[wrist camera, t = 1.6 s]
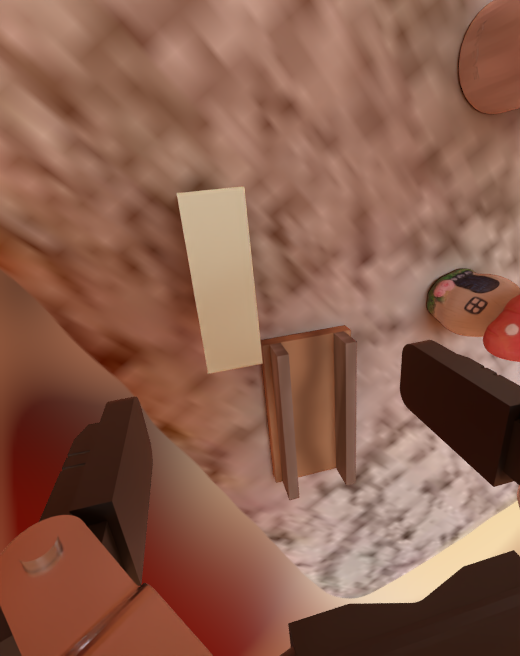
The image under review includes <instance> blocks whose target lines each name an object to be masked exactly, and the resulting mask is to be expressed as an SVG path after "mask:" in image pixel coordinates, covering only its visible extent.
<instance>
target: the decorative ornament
mask: <svg viewBox="0 0 520 656" xmlns="http://www.w3.org/2000/svg"><path fill="white" fill-rule="evenodd" d="M427 309H428V310H429V312H430V313H431V314H432V315H433V316H434V317H435V318H436V319H437V320H438V321H440V322H441V323H442V325H443V326H444V327H445V328H447V329H448V330H450V331H452V332H454V333H456V334H459V335H464V336H475V337H482V336H483V344H484V346H485V348H486V349H487V351H488V352H490V353H491V354H493V355H495V356H496V357H499V358H502V359H506V360H510V361H517V362H520V288H519V287H518V286H517V285H516V284H515V283H513V282H512V281H510V280H508V279H506V278H504V277H501V276H497V275H491V274H476V273H475V272H474V271H473V270H471V269H459V270H455V271H453V272H451V273H449V274H447V275H445V276H443V277H441V278H440V279H438V280H437V282H436V283H435V284H434V286H433V287H432V288H431V290H430V291H429V293H428V300H427Z"/></svg>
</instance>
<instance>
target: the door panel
mask: <svg viewBox="0 0 520 656" xmlns="http://www.w3.org/2000/svg"><path fill="white" fill-rule="evenodd" d="M177 198H178V204H179V210H180V215H181V221H182V227H183V233H184V238H185V244H186V250H187V256H188V261H189V267H190V273H191V279H192V284H193V290H194V296H195V302H196V307H197V313H198V319H199V325H200V330H201V336H202V342H203V348H204V353H205V359H206V365H207V371H208V374H210V373H216V372H221V371H226V370H231V369H237V368H242V367H247V366H252V365H258V364H263V361H262V351H261V342H260V332H259V323H258V313H257V304H256V294H255V285H254V275H253V266H252V256H251V247H250V238H249V228H248V219H247V209H246V200H245V190H244V186H243V187H233V188H223V189H214V190H204V191H194V192H184V193H177Z"/></svg>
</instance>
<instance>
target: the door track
mask: <svg viewBox="0 0 520 656" xmlns="http://www.w3.org/2000/svg"><path fill="white" fill-rule="evenodd" d="M260 342H261V351H262V361H263V364H262V370H263V380H264V389H265V399H266V408H267V417H268V427H269V436H270V445H271V455H272V464H273V474H274V477H275V480H276V483H278V482H282V481H283V484H284V486H285V489H286V492H287V494H288V497H289V500H293V499H297V498H299V487H298V477H302V476H306V475H310V474H314V473H318V472H321V471H325V470H329V469H333V468H337V470H338V472H339V474H340V475H341V477H342V479H343V481H344V482H345V484H346V485H350V484H354V483H356V372H357V341H355V340H354V339H353V338H352V337H351V330H350V329H349V328H347V327H346V326H345V325H344V326H338V327H333V328H327V329H321V330H316V331H310V332H305V333H299V334H293V335H288V336H282V337H277V338H271V339H265V340H260Z"/></svg>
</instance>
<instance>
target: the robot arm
mask: <svg viewBox="0 0 520 656" xmlns="http://www.w3.org/2000/svg"><path fill="white" fill-rule="evenodd" d="M459 77H460V84H461V87H462V90H463V93H464V95H465V97H466V98H467V100H468V102H469V103H470V104H471V105H472V106H473V107H474V108H475V109H477V110H478V111H480V112H482V113H487V114H499V113H503V112H506V111H510V110H514V109H518V108H520V0H494V1H492V2H491V3H489V4H488V5H487V6H485V7H484V8H483V9H482V10H481V11H480V12H479V13H478V15H477V16H476V17H475V19H474V20H473V22H472V23H471V25H470V27H469V29H468V31H467V33H466V35H465V38H464V41H463V44H462V47H461V52H460V58H459ZM400 393H401V397H402V400H403V402H404V404H405V405H406V407H407V408H408V409H409V410H410V411H411V412H412V413H414V414H415V415H416V416H417V417H418V418H419V419H420V420H421V421H422V422H423V423H424V424H426V425H427V426H428V427H429V428H430V429H431V430H432V431H433V432H434V433H435V434H436V435H438V436H439V437H440V438H441V439H442V440H443V441H444V442H445V443H446V444H447V445H448V446H450V447H451V448H452V449H453V450H454V451H455V452H456V453H457V454H458V455H459V456H461V457H462V458H463V459H464V460H465V461H466V462H467V463H468V464H469V465H470V466H471V467H473V468H474V469H475V470H476V471H477V472H478V473H479V474H480V475H481V476H482V477H483V478H485V479H486V480H487V481H488V482H489V483H490V484H491V485H492V486H493V487H495V486H498V485H502V484H505V483H509V482H513V481H515V482H516V483H517V484H519V487H518V491H517V500H518V503H519V507H520V386H519V385H517V384H516V383H514V382H512V381H510V380H508V379H507V378H505V377H503V376H501V375H497V373H496V372H494V371H492V370H490V369H488V368H484V366H483V365H481V364H479V363H477V362H476V361H474V360H472V359H470V358H468V357H465V356H462V355H458V354H456V353H454V352H452V351H451V350H449V349H447V348H445V347H443V346H442V345H440V344H438V343H436V342H435V341H432V340H427V341H422V342H416V343H411V344H407V345H405V347H404V348H403V351H402V364H401V380H400ZM152 462H153V459H152V449H151V444H150V439H149V436H148V432H147V428H146V424H145V421H144V417H143V413H142V409H141V406H140V402H139V400H138V398H137V397H131V398H125V399H120V400H115V401H110V402H108V403H107V404H106V406H105V409H104V412H103V415H102V418H101V421H100V423H95V424H90V425H88V426H87V427H86V428H85V429H84V430H83V431H82V432H81V433H80V434H79V435H78V436H77V437H76V438H75V439H74V441H73V444H72V446H71V448H70V451H69V453H68V458H66V460H65V462H64V465H63V467H62V471H61V472H60V474H59V476H58V479H57V481H56V483H55V486H54V488H53V490H52V493H51V495H50V497H49V500H48V502H47V504H46V507H45V509H44V511H43V514H42V516H41V518H40V521H39V522H38V523H36V524H34V525H33V526H31V527H29V528H28V529H26V530H25V531H24V532H22V533H21V534H20V535H19V536H17V537H16V538H15V539H14V540H13V541H12V542H11V543H10V544H9V545H8V546H7V547H6V548H5V549H4V551H3V552H2V553H1V555H0V656H213V655H212V654H211V653H210V652H209V651H208V650H207V648H205V646H204V645H203V644H202V643H201V642H200V640H199V639H198V638H197V637H196V636H195V635H194V634H193V633H192V632H191V630H190V629H189V628H188V627H187V626H186V625H185V623H184V622H183V621H182V620H181V619H180V618H179V617H178V616H177V614H176V613H175V612H174V611H173V610H172V609H171V608H170V607H169V605H168V604H167V603H166V602H165V601H164V600H163V598H162V597H161V596H160V595H159V594H158V593H157V592H156V591H155V590H154V589H153V588H152V587H151V586H150V585H148V584H146V583H144V584H143V585H141V582H142V571H143V561H144V549H145V540H146V529H147V519H148V508H149V496H150V487H151V475H152V464H153V463H152ZM139 586H140V587H139ZM288 625H289V634H290V643H291V648H290V649H288V650H287V651H286V652H284V653H283V654H282V655H280V656H520V556H519V555H518V554H517V553H516V552H515V551H514V550H513V551H510V552H507V553H504V554H501V555H498V556H495V557H492V558H489V559H486V560H482V561H479V562H476V563H473V564H470V565H467V566H464V567H462V568H461V569H460V570H459V571H458V572H456V573H455V574H454V575H453V576H452V577H450V578H449V579H448V580H446V581H445V582H444V583H443V584H441V585H440V586H439V587H438V588H437V589H435V590H434V591H433V592H432V593H430V595H428V596H427V597H425V598H424V599H423V600H421V601H419V602H416V603H381V604H380V603H379V604H378V603H377V604H347V605H344V606H341V607H338V608H335V609H332V610H329V611H326V612H322V613H319V614H316V615H313V616H310V617H307V618H304V619H301V620H298V621H295V622H292V623H289V624H288Z"/></svg>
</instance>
